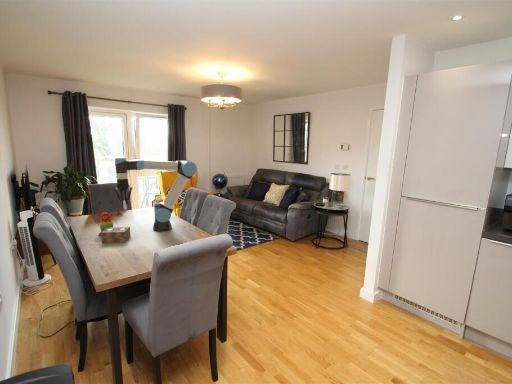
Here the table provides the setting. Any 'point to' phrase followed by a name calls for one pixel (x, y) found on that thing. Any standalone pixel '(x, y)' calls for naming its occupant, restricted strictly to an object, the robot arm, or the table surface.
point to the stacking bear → (105, 222)
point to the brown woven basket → (115, 235)
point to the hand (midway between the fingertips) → (125, 209)
